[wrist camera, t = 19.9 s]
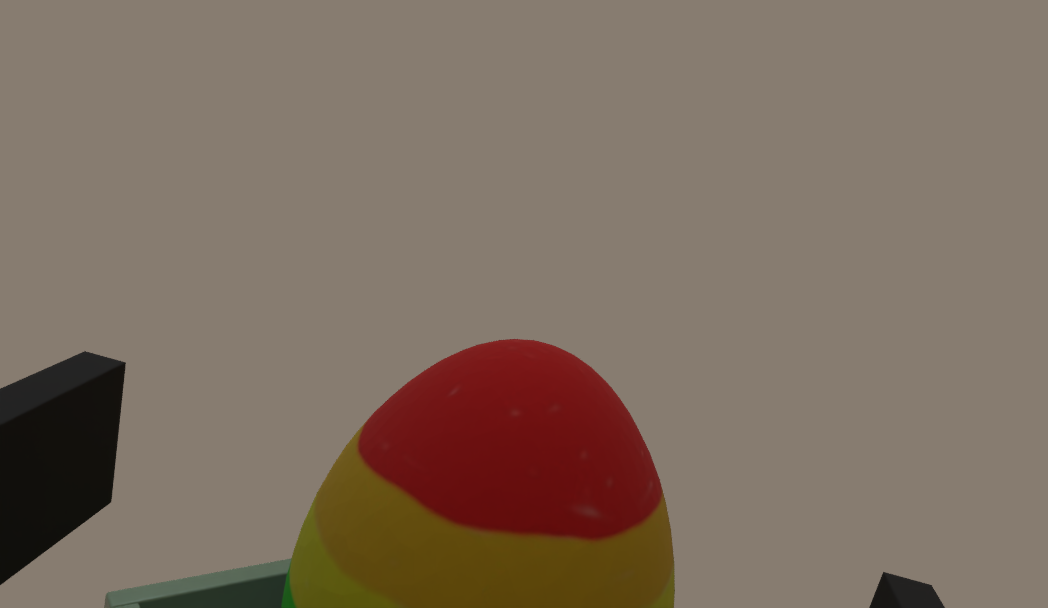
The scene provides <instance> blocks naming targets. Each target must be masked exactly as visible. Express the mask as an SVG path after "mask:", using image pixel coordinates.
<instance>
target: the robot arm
mask: <svg viewBox="0 0 1048 608" xmlns="http://www.w3.org/2000/svg"><path fill="white" fill-rule="evenodd" d="M125 364H126V363H125V362H121V361H118V360H114V359H111V358H107V357H103V356H100V355H96V354H93V353H89V352H86V351H85V352H82V353H80V354H78V355H76V356H73V357H71V358H69V359H67V360H65V361H62V362H60V363H57V364H55V365H53V366H51V367H49V368H46V369H44V370H42V371H39V372H37V373H35V374H33V375H30V376H28V377H26V378H24V379H22V380H19V381H17V382H15V383H12V384H10V385H8V386H6V387H3V388H1V389H0V585H1V584H2V583H4V582H5V581H6V580H8V579H9V578H10V577H11V576H13V575H14V574H16V573H17V572H18V571H20V570H21V569H22V568H24V567H25V566H26V565H28V564H29V563H30V562H32V561H33V560H34V559H36V558H37V557H38V556H40V555H41V554H42V553H44V552H45V551H46V550H48V549H49V548H50V547H52V546H53V545H54V544H56V543H57V542H58V541H60V540H61V539H63V538H64V537H65V536H67V535H68V534H69V533H71V532H72V531H73V530H75V529H76V528H77V527H78V526H80V525H81V524H83V523H84V522H85V521H87V520H88V519H89V518H91V517H92V516H93V515H95V514H96V513H97V512H99V511H100V510H101V509H103V508H104V507H105V506H107V505H108V504H109V503H110V502H111V499H112V489H113V480H114V470H115V459H116V451H117V441H118V432H119V422H120V413H121V403H122V393H123V384H124V374H125ZM870 608H945V607H944V606H943V604H942V602H941V601H940V599H939V597H938V595H937V594H936V592H935V590H934V589H933V587H932V585H929V584H925V583H922V582H918V581H914V580H910V579H907V578H903V577H899V576H896V575H893V574H889V573H885V572H883V574H882V577H881V580H880V582H879V585H878V587H877V590H876V592H875V595H874V597H873V600H872V602H871V605H870Z"/></svg>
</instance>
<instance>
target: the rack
mask: <svg viewBox="0 0 1048 608" xmlns="http://www.w3.org/2000/svg"><path fill="white" fill-rule="evenodd" d="M291 559H292V558H291ZM291 559H286V560H281V561H275V562H270V563H264V564H259V565H254V566H248V567H244V568H237V569H232V570H226V571H221V572H216V573H211V574H205V575H200V576H194V577H188V578H183V579H178V580H173V581H167V582H161V583H156V584H151V585H145V586H140V587H134V588H129V589H124V590H118V591H113V592H108V593H107V594H106V598H105V607H104V608H281V604H282V599H283V593H284V588H285V582H286V576H287V573H288V569H289V566H290V562H291Z"/></svg>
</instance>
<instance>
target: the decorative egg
mask: <svg viewBox="0 0 1048 608" xmlns="http://www.w3.org/2000/svg"><path fill="white" fill-rule="evenodd" d="M674 592H675V589H674V557H673V547H672V537H671V528H670V523H669V517H668V512H667V507H666V502H665V498H664V494H663V490H662V487H661V483H660V479H659V477H658V474H657V471H656V469H655V466H654V463H653V461H652V458H651V455H650V452H649V450H648V448H647V446H646V444H645V442H644V440H643V438H642V436H641V434H640V432H639V430H638V428H637V426H636V424H635V422H634V420H633V419H632V417H631V415H630V413H629V412H628V410H627V409H626V407H625V406H624V404H623V403H622V401H621V400H620V398H619V397H618V396H617V394H616V393H615V392H614V391H613V389H612V388H611V387H610V386H609V385H608V383H607V382H606V381H605V380H604V379H603V378H602V377H601V376H600V375H599V374H598V373H596V372H595V371H594V370H593V369H592V368H591V367H590V366H589V365H587V364H586V363H584V362H583V361H581V360H580V359H579V358H577V357H576V356H574V355H572V354H571V353H568V352H566V351H564V350H562V349H560V348H558V347H556V346H553V345H550V344H546V343H542V342H539V341H534V340H520V339H510V340H499V341H494V342H489V343H484V344H480V345H476V346H473V347H471V348H468V349H465V350H463V351H460V352H458V353H456V354H454V355H451V356H449V357H447V358H445V359H443V360H441V361H440V362H438V363H436V364H434V365H433V366H431V367H430V368H428V369H427V370H425V371H424V372H422V373H421V374H419V375H418V376H416V377H415V378H414V379H412V380H411V381H409V382H408V383H407V384H406V385H405V386H403V387H402V388H401V389H400V390H398V391H397V392H396V393H395V394H394V395H393V396H391V397H390V398H389V399H388V400H387V401H386V402H385V403H384V404H383V405H382V406H381V407H380V408H379V409H377V410H376V411H375V412H374V413H373V415H372V416H371V417H370V418H369V419H368V420H367V421H366V422H365V424H364V425H363V426H362V427H361V428H360V429H359V430H358V432H357V433H356V434H355V435H354V437H353V438H352V439H351V440H350V442H349V443H348V444H347V445H346V447H345V448H344V450H343V451H342V453H341V454H340V456H339V457H338V459H337V460H336V462H335V464H334V465H333V467H332V468H331V470H330V472H329V473H328V475H327V477H326V479H325V481H324V482H323V484H322V485H321V488H320V489H319V491H318V492H317V494H316V497H315V499H314V501H313V503H312V506H311V508H310V510H309V512H308V514H307V517H306V519H305V521H304V523H303V525H302V528H301V531H300V534H299V537H298V540H297V543H296V546H295V549H294V552H293V556H292V559H291V562H290V566H289V569H288V573H287V576H286V582H285V588H284V593H283V599H282V604H281V608H674Z"/></svg>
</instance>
